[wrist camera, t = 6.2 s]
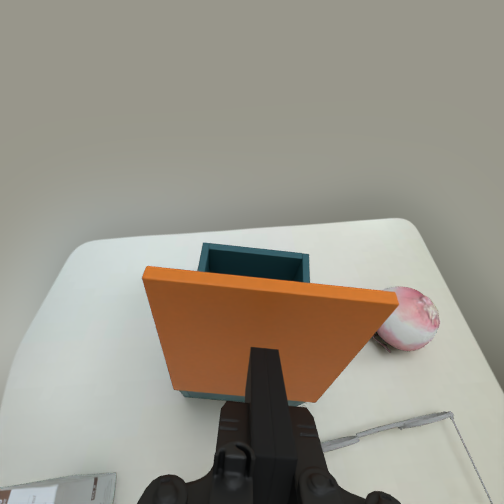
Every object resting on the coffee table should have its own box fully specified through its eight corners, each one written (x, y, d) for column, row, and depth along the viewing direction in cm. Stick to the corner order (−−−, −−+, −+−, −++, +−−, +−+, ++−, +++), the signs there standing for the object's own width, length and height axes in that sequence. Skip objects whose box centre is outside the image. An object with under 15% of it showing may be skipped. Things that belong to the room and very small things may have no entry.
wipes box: (205, 273, 42) (203, 242, 35) (295, 282, 42) (309, 253, 36) (184, 396, 33) (175, 386, 27) (296, 406, 34) (314, 398, 27)
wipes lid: (146, 265, 15) (141, 277, 14) (396, 291, 15) (400, 304, 15) (175, 380, 27) (173, 390, 26) (315, 393, 27) (315, 403, 27)
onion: (423, 359, 38) (462, 344, 32) (364, 355, 38) (391, 338, 32) (409, 300, 42) (440, 277, 36) (355, 296, 42) (378, 271, 36)
